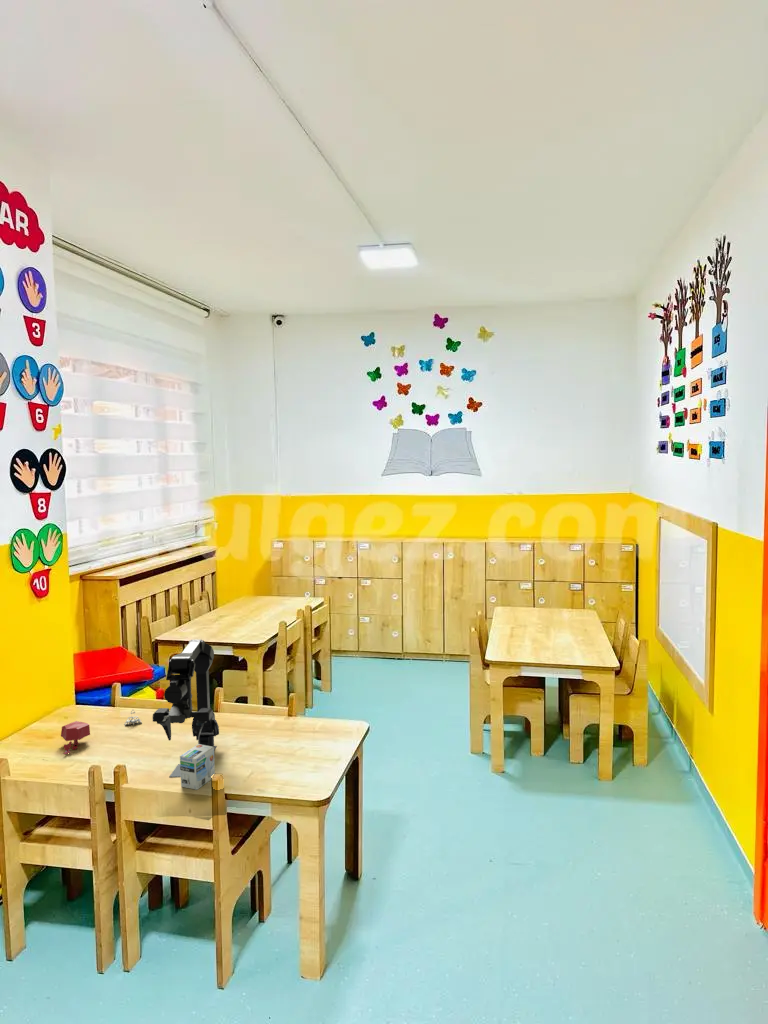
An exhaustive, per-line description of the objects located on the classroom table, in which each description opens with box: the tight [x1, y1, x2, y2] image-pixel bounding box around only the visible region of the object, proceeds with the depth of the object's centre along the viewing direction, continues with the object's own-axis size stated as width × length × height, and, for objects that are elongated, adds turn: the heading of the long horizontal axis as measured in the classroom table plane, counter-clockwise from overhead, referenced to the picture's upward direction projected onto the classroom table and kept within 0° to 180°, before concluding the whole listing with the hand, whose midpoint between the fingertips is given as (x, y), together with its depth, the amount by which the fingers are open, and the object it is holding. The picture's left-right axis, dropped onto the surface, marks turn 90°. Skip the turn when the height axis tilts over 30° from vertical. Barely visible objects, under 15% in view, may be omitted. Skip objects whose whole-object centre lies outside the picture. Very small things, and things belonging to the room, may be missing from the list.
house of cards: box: [123, 709, 143, 726], centre depth 306 cm, size 9×9×8 cm
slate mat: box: [169, 763, 181, 778], centre depth 258 cm, size 11×20×1 cm, turn 89°
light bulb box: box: [179, 743, 216, 791], centre depth 248 cm, size 11×7×11 cm, turn 159°
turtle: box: [60, 720, 91, 755], centre depth 278 cm, size 15×20×9 cm
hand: (183, 740), depth 246 cm, fingers open, 9 cm apart
